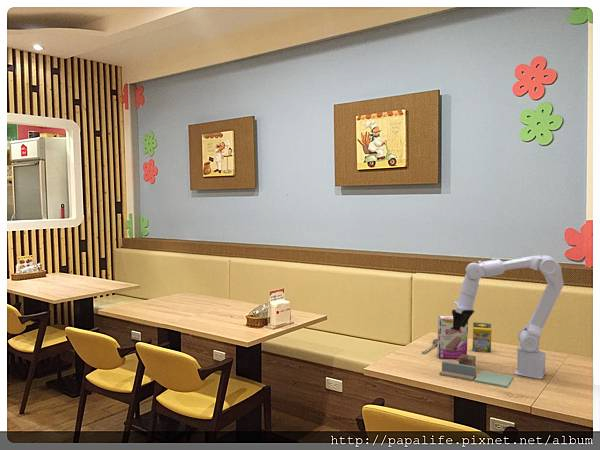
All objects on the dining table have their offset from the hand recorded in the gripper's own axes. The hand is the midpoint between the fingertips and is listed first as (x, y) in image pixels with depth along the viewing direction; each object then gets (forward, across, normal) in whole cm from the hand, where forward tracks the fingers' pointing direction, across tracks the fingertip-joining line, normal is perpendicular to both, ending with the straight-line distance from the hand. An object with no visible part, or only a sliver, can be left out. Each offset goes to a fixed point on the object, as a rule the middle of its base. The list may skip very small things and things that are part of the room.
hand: (458, 328), depth 204 cm
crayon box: (+13, -26, +6) cm, 30 cm away
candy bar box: (+15, -11, -2) cm, 19 cm away
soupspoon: (+18, -20, -12) cm, 29 cm away
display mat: (+12, +6, +18) cm, 22 cm away
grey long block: (+15, +9, +6) cm, 18 cm away
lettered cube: (+14, 0, +7) cm, 16 cm away
